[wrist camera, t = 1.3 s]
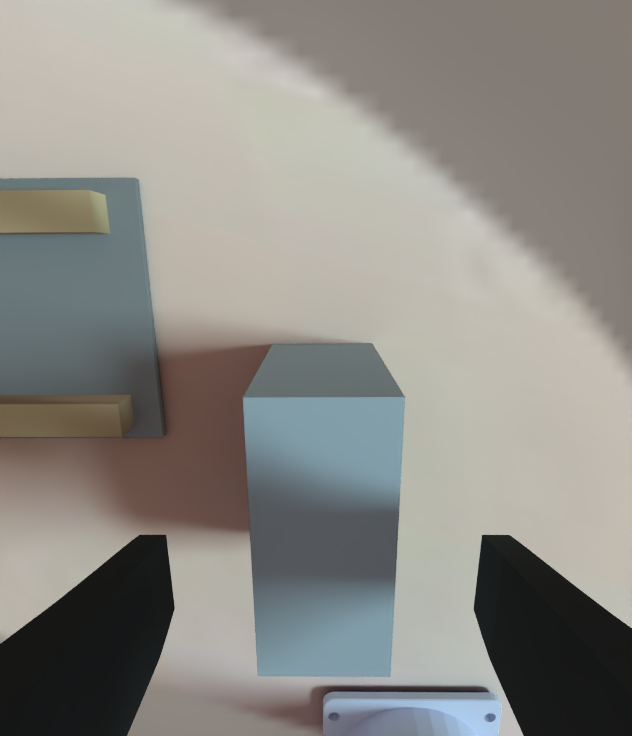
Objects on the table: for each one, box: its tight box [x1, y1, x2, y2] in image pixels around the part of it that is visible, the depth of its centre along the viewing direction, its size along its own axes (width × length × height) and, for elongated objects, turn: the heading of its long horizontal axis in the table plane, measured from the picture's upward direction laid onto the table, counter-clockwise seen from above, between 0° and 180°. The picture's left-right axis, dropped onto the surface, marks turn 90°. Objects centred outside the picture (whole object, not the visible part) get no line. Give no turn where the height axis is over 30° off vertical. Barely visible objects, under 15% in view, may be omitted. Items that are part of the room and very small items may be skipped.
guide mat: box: [0, 178, 166, 438], centre depth 15 cm, size 9×10×1 cm
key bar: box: [243, 344, 405, 677], centre depth 13 cm, size 8×4×6 cm, turn 1°
